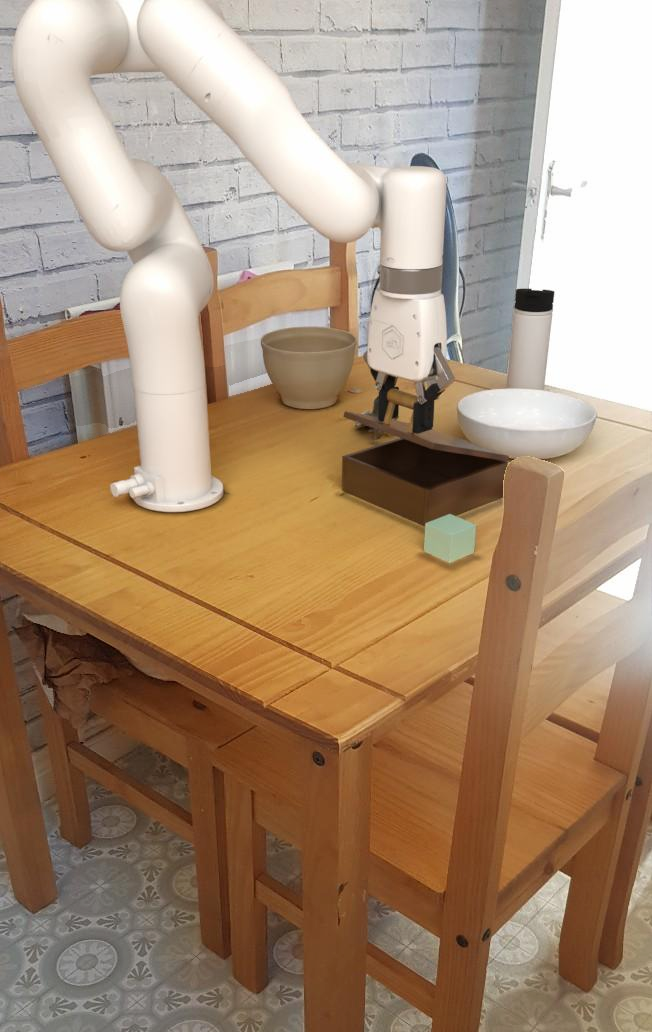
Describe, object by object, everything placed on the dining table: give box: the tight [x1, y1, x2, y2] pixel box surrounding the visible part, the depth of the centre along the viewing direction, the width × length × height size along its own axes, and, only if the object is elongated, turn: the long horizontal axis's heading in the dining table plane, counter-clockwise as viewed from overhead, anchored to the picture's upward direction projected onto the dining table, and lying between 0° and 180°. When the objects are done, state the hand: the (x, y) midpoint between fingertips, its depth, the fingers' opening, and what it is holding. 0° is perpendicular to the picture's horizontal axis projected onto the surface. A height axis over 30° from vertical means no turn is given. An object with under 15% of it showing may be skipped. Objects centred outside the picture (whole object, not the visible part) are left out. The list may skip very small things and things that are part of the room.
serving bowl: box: [456, 388, 598, 460], centre depth 158 cm, size 21×21×7 cm
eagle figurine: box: [354, 395, 400, 442], centre depth 164 cm, size 8×7×9 cm
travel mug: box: [505, 288, 555, 391], centre depth 171 cm, size 6×7×20 cm
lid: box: [343, 388, 510, 462], centre depth 138 cm, size 16×16×5 cm
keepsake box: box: [341, 437, 509, 527], centre depth 142 cm, size 15×16×6 cm
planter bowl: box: [260, 325, 357, 410], centre depth 177 cm, size 16×16×11 cm
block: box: [423, 514, 477, 564], centre depth 127 cm, size 4×4×4 cm
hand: (405, 423), depth 135 cm, fingers closed on lid, 5 cm apart
